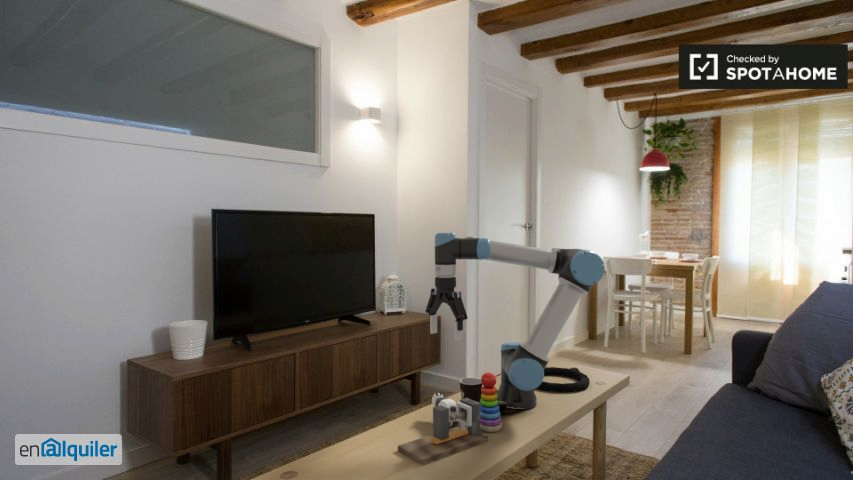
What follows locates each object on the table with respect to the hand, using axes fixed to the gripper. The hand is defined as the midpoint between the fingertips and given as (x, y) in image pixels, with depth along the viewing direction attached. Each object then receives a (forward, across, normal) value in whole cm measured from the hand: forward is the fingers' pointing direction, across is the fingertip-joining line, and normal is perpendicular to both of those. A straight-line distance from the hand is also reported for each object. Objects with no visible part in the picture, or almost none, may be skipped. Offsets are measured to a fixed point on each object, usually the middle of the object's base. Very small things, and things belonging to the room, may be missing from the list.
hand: (445, 336), depth 180 cm
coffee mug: (+29, 0, +12) cm, 31 cm away
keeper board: (+29, +18, -16) cm, 37 cm away
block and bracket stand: (+27, +18, -13) cm, 35 cm away
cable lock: (+29, -1, +64) cm, 70 cm away
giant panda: (+29, +4, -4) cm, 30 cm away
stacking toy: (+29, +17, +5) cm, 34 cm away
